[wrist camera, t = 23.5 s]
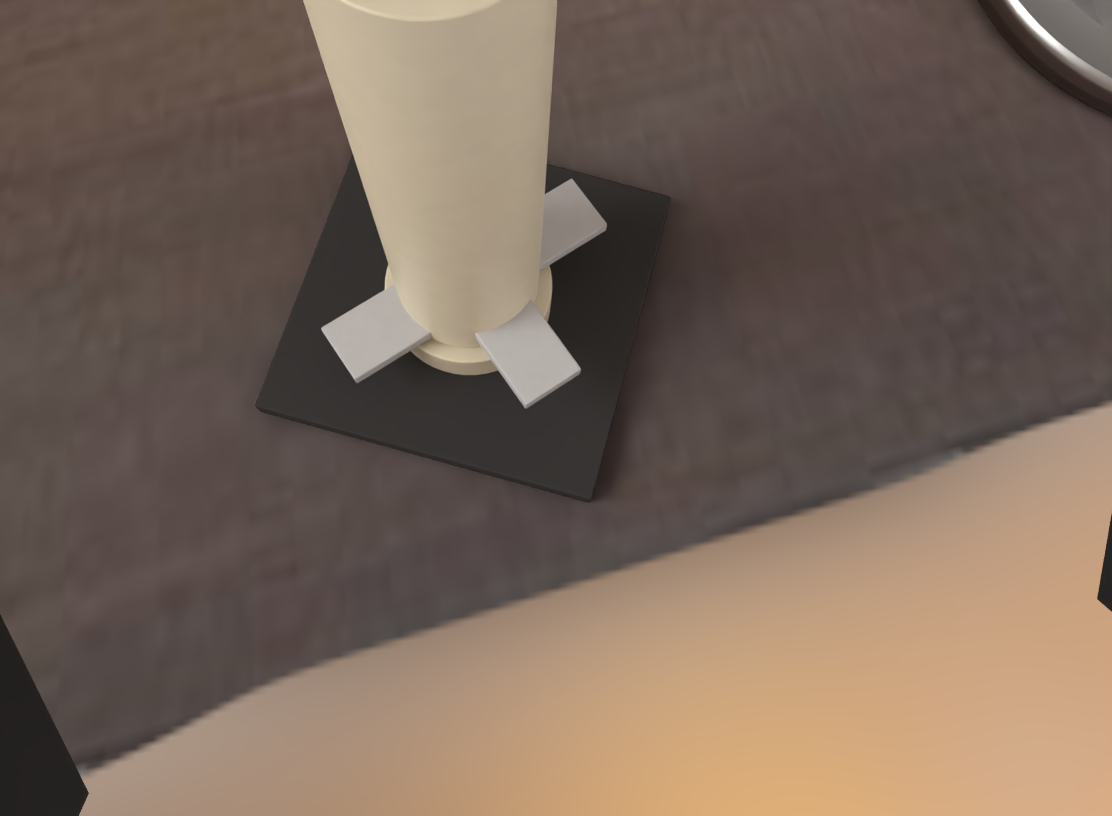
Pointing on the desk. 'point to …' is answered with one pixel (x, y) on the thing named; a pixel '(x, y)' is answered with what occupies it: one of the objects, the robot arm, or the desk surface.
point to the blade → (455, 184)
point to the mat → (480, 400)
